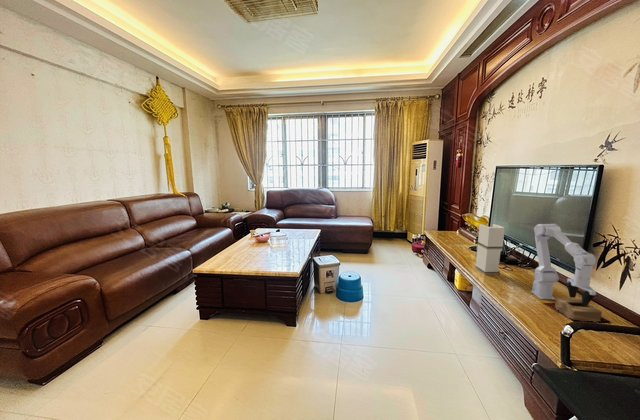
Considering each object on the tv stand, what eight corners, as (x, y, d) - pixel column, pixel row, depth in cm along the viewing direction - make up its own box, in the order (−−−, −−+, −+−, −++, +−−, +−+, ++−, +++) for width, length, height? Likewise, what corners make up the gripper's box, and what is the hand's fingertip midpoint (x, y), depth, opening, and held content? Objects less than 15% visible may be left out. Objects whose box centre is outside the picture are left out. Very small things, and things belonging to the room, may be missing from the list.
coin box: (554, 307, 139) (556, 297, 138) (579, 309, 137) (580, 299, 136) (572, 320, 127) (574, 310, 126) (599, 322, 126) (601, 311, 125)
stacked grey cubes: (499, 274, 182) (504, 227, 176) (484, 274, 182) (489, 227, 176) (489, 268, 193) (494, 223, 187) (475, 268, 193) (479, 224, 187)
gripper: (562, 270, 136) (558, 293, 139) (586, 282, 122) (581, 308, 125) (577, 271, 135) (573, 294, 138) (602, 283, 121) (598, 309, 124)
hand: (578, 301), depth 131 cm, fingers open, 7 cm apart
